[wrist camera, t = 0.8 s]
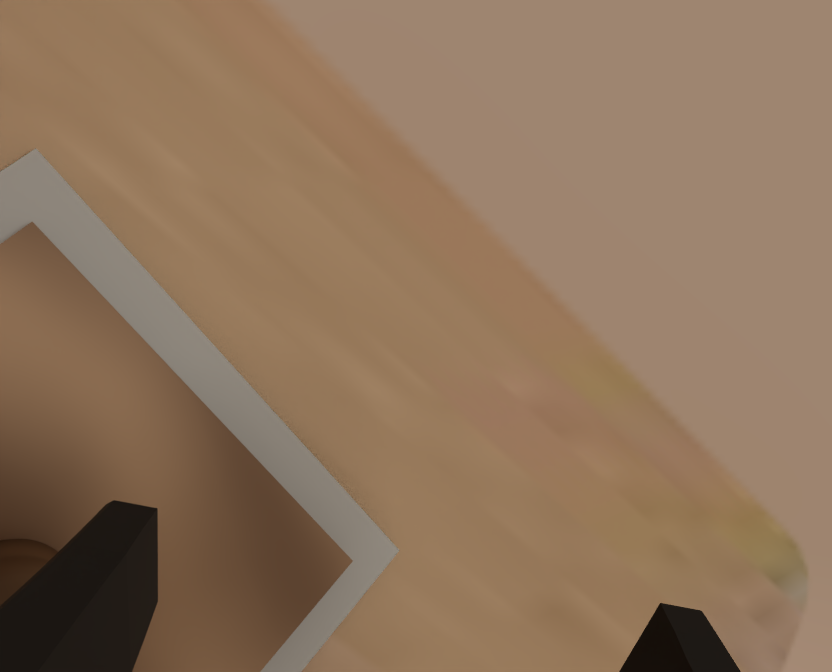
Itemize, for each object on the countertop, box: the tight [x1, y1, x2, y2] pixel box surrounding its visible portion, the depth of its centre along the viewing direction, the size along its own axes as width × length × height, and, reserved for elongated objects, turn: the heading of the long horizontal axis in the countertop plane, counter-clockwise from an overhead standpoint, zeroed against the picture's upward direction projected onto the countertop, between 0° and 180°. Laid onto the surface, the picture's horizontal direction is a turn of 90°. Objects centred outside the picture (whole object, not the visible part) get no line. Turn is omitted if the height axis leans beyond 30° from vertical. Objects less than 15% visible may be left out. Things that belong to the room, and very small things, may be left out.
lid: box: [0, 222, 353, 672], centre depth 17 cm, size 14×14×5 cm
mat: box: [0, 148, 399, 672], centre depth 19 cm, size 17×17×1 cm
